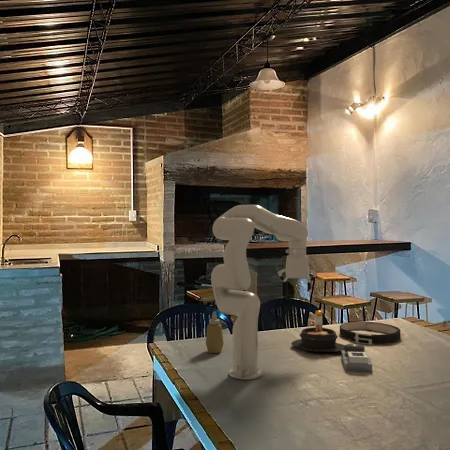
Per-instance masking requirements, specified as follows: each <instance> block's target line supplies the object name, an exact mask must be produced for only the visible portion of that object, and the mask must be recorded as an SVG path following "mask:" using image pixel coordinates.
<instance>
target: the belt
mask: <svg viewBox="0 0 450 450" xmlns="http://www.w3.org/2000/svg"><path fill="white" fill-rule="evenodd" d="M354 330H367V331H368V330H369V331H373V332H379V333H381V334H371V333H363V332H362V333H361V332H356V331H355V332H354ZM382 333H383V334H382ZM339 336H340V337H341V338H343V339H346V340H348V341H350V342H354V343H355V344H361V345H363V344H364V345H389V344H390V345H391V344H395V343H398V342H400V341H401V329H400V328H399V327H398V326H395V325H391V324H388V323H382V322H376V321H375V322H374V321H349V322H343V323H341V324H339Z"/></svg>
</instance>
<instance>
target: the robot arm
mask: <svg viewBox="0 0 450 450" xmlns="http://www.w3.org/2000/svg"><path fill="white" fill-rule="evenodd" d="M255 229H256V230H259V231H260V232H263V233H265V234H269V235H274V236H275V238H276V239H277V240H278V241H280V242H288V249H285V253H287V254H288V255H287V256H286V261H285V267H284V268H283V269H281V270H278V272H277V274H278V276H279V279H281V280H282V282H283V289H284V290H285V292H287V291H288V279H301V280H302V279H306V281H307V287H306V289H307V293H309V292H310V290H311V288H312V287H311V285H312V284H311V283H312V282H313V281H314V280H315V279H316V277H317V275H318V272H316V271H315V270H312V269H311V268H310V263H309V255H307V239H308V235H309V232H308V230H309V229H308V228H307V226H306V225H305V224H304V223H302V222H301V221H299V220H296V219H293V218H290V217H286V216H283V215H279V214H277V213H273V212H272V211H269V210H267V209H266V208H264V207H263V206H261V205H258V204H239V205H235V206H233V207H232V208H230V209H228V210H227V211H225V212H224V213H223V214H222V215H220V216H219V217H217V218H216V219H215V221H214V222H213V225H212V234H213V235H214V237H215V238H216V239H218V240H221V241H223V240H224V241H228V242H227V244H226V245H225V247H224V250H223V255H222V256H223V263H221V264H217V265H216V266H214V267H213V269H212V270H211V271H212V272H211V273H210V275H211V276H210V282H211V287H212V291H213V295H214V300H215V304H216V306H217V309H218V310H219V312H220V313H222V314H225V315H232V316H235V317H237V318H236V319H235V321H234V323H233V325H232V368H231V369H229V370H228V375H229V376H230V377H231V378H233V379H235V380H243V381H245V380H246V381H248V380H255V379H259V378H260V377H262V375H263V371H262V369H260V368H259V361H258V360H259V347H258V346H259V345H258V344H259V343H258V341H259V340H258V339H259V337H258V335H259V334H258V327H259V325H258V324H259V323H258V322H259V314H260V308H261V300H260V298H259V296H258V295H257V294H256V293H254V292H250V291H246V290H248V289H249V288H250V287H251V284H252V283H251V282H252V280H251V279H252V277H251V273H250V268H249V264H248V259H247V248H248V246H249V243H250V240H251V238H253V237H252V236H253V235H254V232H255ZM283 273H285V277H284V276H283ZM310 273H311V274H312V275H313V276H312V277H311V278H310Z"/></svg>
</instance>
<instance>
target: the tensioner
mask: <svg viewBox="0 0 450 450" xmlns="http://www.w3.org/2000/svg"><path fill="white" fill-rule="evenodd" d="M344 345H345V350H341V351H340V354H341V355H340V356H341V358H340V359H341V361H342V364H343V367H344V371H345V372H359V373H361V372H362V373H373V363H372V361H371V359H370V358H369V355H368V353H367V351H366V349H365V346H364V345H363V344H360V343H346V344H344Z"/></svg>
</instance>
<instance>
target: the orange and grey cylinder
mask: <svg viewBox="0 0 450 450" xmlns="http://www.w3.org/2000/svg"><path fill="white" fill-rule="evenodd" d="M315 327H316V331H317V332H322V328H323V310H315Z"/></svg>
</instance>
